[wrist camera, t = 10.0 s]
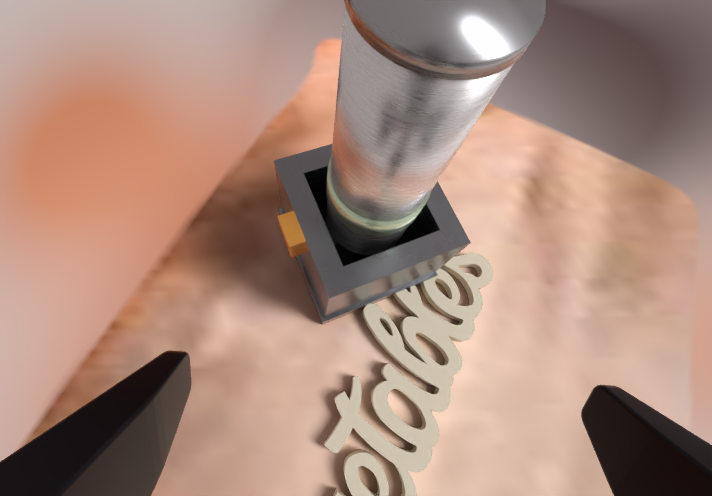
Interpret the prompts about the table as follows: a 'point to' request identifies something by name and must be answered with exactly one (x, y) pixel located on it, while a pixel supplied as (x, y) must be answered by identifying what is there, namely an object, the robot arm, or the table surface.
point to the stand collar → (348, 269)
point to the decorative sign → (422, 368)
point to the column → (412, 103)
